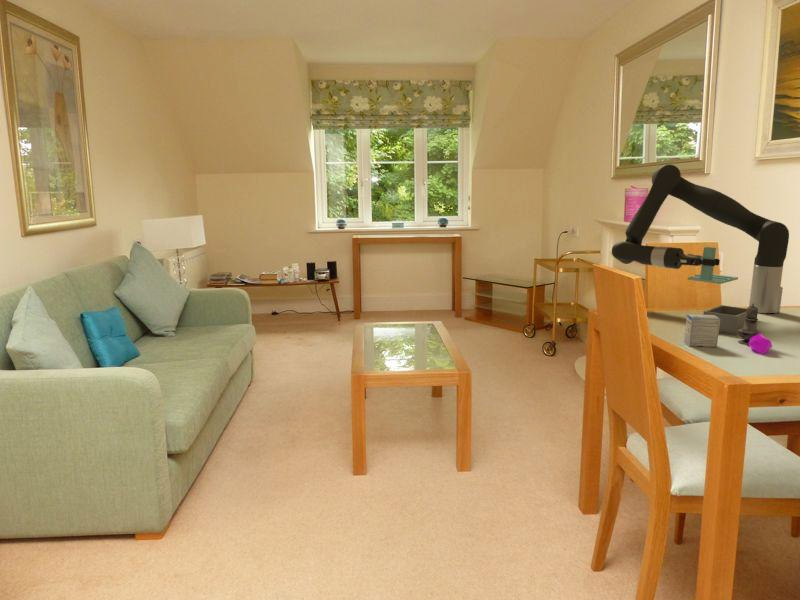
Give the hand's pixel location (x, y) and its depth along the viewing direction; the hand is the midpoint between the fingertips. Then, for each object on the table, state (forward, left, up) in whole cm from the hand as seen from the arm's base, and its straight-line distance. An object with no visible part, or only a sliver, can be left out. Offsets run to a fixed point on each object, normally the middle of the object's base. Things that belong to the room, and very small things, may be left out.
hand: (716, 262), depth 213 cm
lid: (-4, -6, -7) cm, 10 cm away
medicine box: (+26, +34, -20) cm, 47 cm away
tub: (+4, +15, -20) cm, 25 cm away
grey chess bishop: (+10, +33, -20) cm, 40 cm away
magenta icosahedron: (+13, +42, -20) cm, 48 cm away
